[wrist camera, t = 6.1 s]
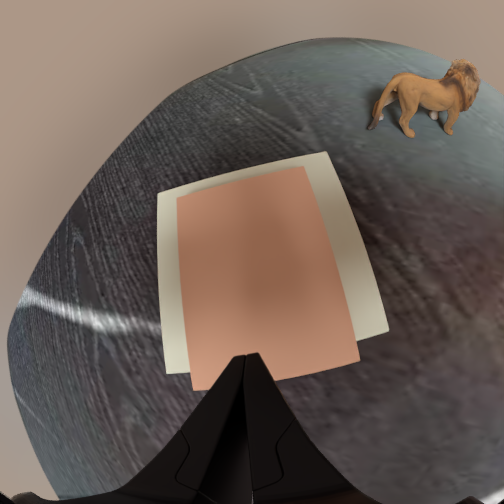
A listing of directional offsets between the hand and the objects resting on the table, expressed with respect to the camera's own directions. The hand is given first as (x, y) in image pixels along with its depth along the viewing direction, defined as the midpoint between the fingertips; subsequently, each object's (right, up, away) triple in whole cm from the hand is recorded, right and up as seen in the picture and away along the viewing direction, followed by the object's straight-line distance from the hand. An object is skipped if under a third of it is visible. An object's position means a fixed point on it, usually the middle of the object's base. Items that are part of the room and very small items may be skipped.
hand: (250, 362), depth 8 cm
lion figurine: (+19, +18, +15) cm, 30 cm away
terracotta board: (+2, -4, +7) cm, 8 cm away
